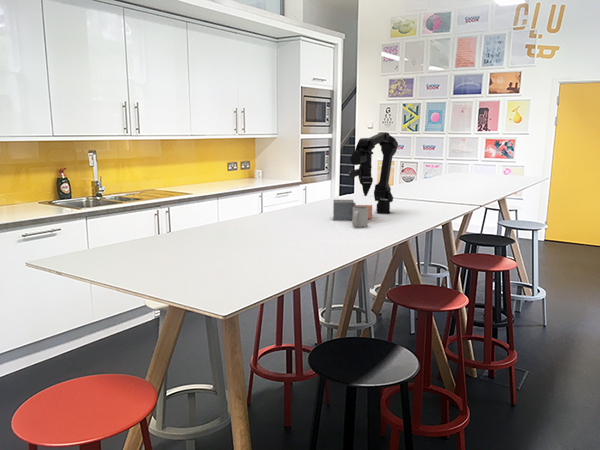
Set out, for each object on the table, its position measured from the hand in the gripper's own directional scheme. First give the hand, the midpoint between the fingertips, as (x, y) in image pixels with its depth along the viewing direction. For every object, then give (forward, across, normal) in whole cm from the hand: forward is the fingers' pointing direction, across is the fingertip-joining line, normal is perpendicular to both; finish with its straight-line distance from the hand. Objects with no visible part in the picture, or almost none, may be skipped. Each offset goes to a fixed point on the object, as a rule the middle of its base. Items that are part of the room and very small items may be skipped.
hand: (365, 194), depth 256 cm
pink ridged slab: (+12, +1, -5) cm, 13 cm away
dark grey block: (+12, +1, -11) cm, 16 cm away
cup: (+12, +21, -4) cm, 25 cm away
